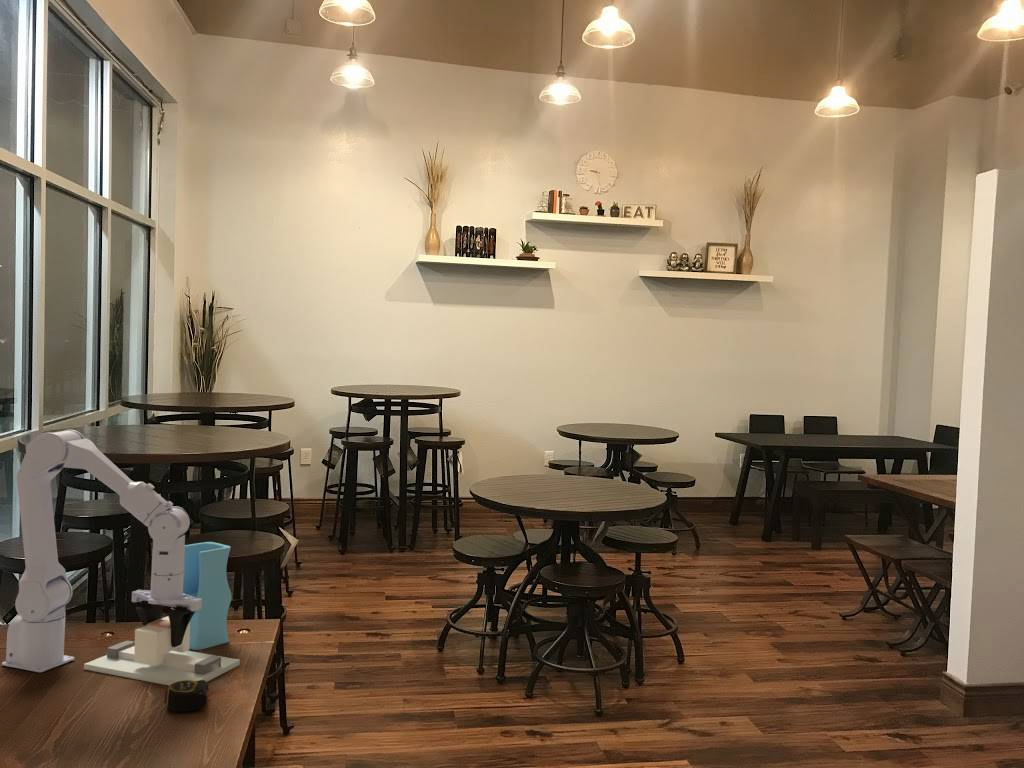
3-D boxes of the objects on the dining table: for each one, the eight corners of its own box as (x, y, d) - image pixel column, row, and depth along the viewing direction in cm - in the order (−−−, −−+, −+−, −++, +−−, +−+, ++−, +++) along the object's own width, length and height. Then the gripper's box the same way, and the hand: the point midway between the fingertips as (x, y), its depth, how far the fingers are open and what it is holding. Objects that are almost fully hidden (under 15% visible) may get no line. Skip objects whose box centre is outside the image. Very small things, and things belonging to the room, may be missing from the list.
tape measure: (206, 714, 138) (207, 691, 138) (161, 717, 136) (163, 694, 136) (208, 698, 144) (209, 677, 144) (165, 701, 142) (166, 679, 142)
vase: (173, 642, 172) (178, 546, 172) (206, 633, 178) (210, 541, 178) (196, 650, 167) (201, 552, 167) (229, 641, 174) (233, 546, 174)
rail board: (83, 669, 154) (84, 654, 154) (138, 647, 168) (139, 633, 168) (191, 689, 147) (192, 674, 147) (239, 664, 161) (240, 650, 161)
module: (134, 661, 154) (134, 628, 153) (168, 645, 162) (168, 614, 162) (156, 665, 152) (157, 632, 152) (189, 649, 161) (190, 617, 160)
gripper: (121, 572, 156) (117, 644, 156) (185, 581, 151) (182, 655, 152) (147, 564, 162) (144, 633, 163) (210, 573, 158) (207, 644, 158)
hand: (164, 643), depth 158 cm, fingers closed on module, 5 cm apart
